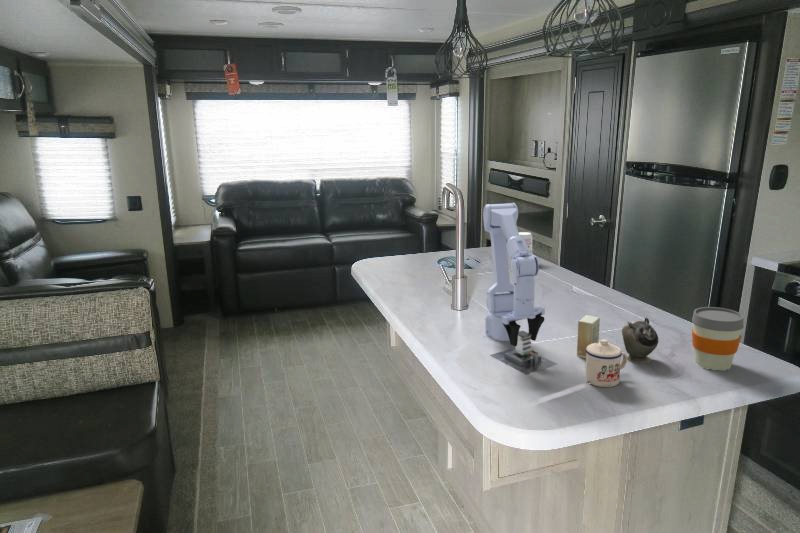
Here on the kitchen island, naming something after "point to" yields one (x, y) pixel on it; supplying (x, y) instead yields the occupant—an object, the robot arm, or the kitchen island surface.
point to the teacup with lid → (604, 364)
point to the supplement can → (527, 239)
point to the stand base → (523, 361)
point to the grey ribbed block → (523, 343)
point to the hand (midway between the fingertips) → (523, 342)
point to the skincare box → (587, 333)
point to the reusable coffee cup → (716, 336)
